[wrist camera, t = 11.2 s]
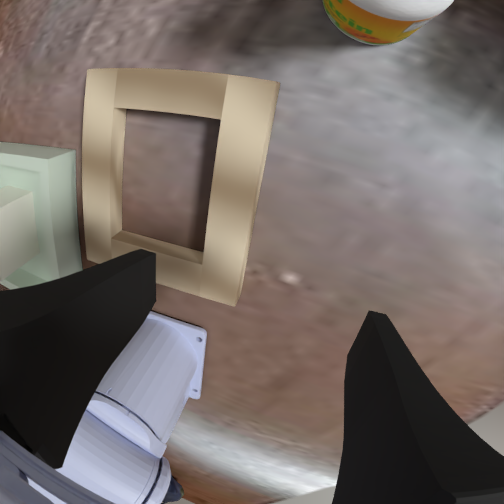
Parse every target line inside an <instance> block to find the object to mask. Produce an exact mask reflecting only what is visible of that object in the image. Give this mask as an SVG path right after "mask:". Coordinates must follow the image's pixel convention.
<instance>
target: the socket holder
mask: <svg viewBox="0 0 504 504" xmlns="http://www.w3.org/2000/svg"><path fill="white" fill-rule="evenodd" d="M279 88H280V83H278V82H275V81H269V80H263V79H257V78H251V77H244V76H236V75H229V74H220V73H211V72H200V71H188V70H173V69H149V68H106V69H88V70H87V79H86V89H85V101H84V116H83V138H82V193H83V216H84V231H85V243H86V254H87V260H90V261H93V262H96V263H98V264H100V263H103V262H106V261H108V260H111V259H113V258H116V257H118V256H121V255H123V254H126V253H129V252H132V251H135V250H138V249H143V250H147V251H150V252H154V253H156V283H158V284H161V285H164V286H168V287H171V288H174V289H177V290H180V291H184V292H187V293H190V294H193V295H197V296H200V297H203V298H207V299H210V300H214V301H217V302H220V303H224V304H227V305H231V306H234V307H235V305H236V303H237V301H238V299H239V297H240V294H241V289H242V284H243V279H244V273H245V268H246V263H247V257H248V252H249V246H250V241H251V236H252V230H253V225H254V220H255V214H256V209H257V204H258V198H259V193H260V188H261V182H262V177H263V172H264V167H265V161H266V156H267V151H268V145H269V140H270V135H271V130H272V124H273V119H274V114H275V109H276V103H277V98H278V93H279ZM127 109H140V110H150V111H160V112H170V113H178V114H186V115H194V116H201V117H208V118H214V119H221V124H220V130H219V137H218V144H217V151H216V158H215V165H214V172H213V180H212V187H211V195H210V203H209V211H208V219H207V228H206V236H205V245H204V252H200V251H197V250H193V249H189V248H186V247H182V246H178V245H175V244H171V243H167V242H164V241H160V240H156V239H153V238H149V237H146V236H142V235H138V234H135V233H131V232H128V231H124V230H122V176H123V152H124V136H125V122H126V111H127Z"/></svg>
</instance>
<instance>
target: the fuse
mask: <svg viewBox="0 0 504 504" xmlns="http://www.w3.org/2000/svg"><path fill="white" fill-rule="evenodd" d="M39 253H40V249H39V243H38V236H37V229H36V221H35V212H34V202H33V192H32V191H28V190H24V189H20V188H16V187H13V186H9V185H7V186H5V187H3V188H1V189H0V282H1V281H2V280H4V279H5V278H6V277H8V276H9V275H10V274H12V273H13V272H14V271H16V270H17V269H18V268H20V267H21V266H23V265H24V264H25V263H27V262H28V261H29V260H31V259H32V258H34V257H35V256H36V255H38V254H39Z"/></svg>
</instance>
